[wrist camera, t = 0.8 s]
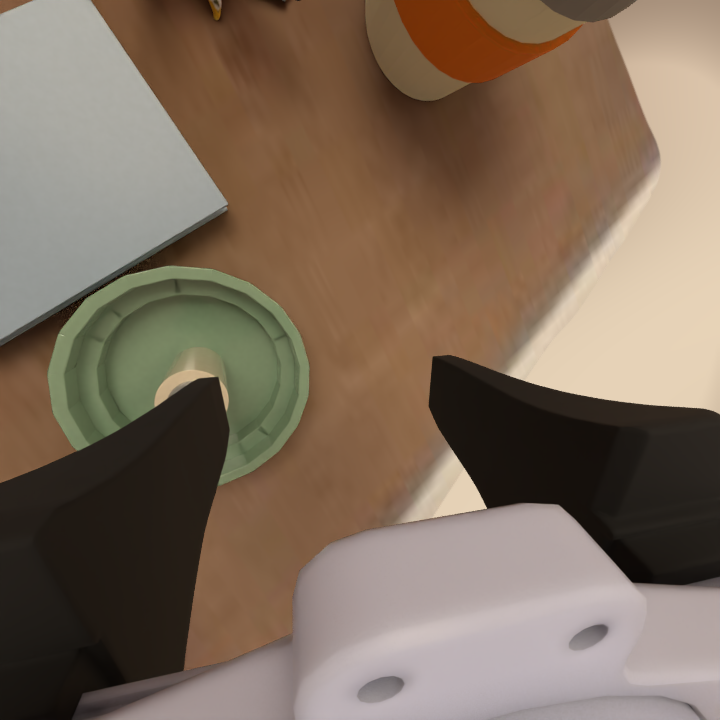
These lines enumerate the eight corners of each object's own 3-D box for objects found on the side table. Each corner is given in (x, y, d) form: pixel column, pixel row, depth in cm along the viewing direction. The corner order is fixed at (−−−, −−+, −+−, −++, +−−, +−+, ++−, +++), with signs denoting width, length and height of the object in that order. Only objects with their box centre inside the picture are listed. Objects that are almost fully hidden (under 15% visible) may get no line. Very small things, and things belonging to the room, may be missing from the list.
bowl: (181, 495, 25) (175, 531, 22) (16, 350, 20) (-28, 366, 16) (329, 383, 28) (346, 399, 24) (219, 227, 22) (219, 218, 19)
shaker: (194, 405, 24) (184, 459, 17) (158, 367, 22) (130, 408, 15) (236, 375, 24) (244, 415, 17) (203, 336, 23) (197, 362, 16)
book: (-12, 353, 19) (-38, 362, 18) (-240, 160, 15) (-309, 142, 13) (227, 210, 22) (228, 204, 20) (93, 13, 18) (78, -19, 16)
